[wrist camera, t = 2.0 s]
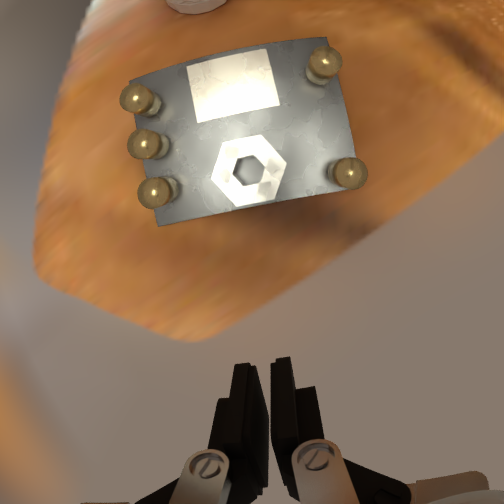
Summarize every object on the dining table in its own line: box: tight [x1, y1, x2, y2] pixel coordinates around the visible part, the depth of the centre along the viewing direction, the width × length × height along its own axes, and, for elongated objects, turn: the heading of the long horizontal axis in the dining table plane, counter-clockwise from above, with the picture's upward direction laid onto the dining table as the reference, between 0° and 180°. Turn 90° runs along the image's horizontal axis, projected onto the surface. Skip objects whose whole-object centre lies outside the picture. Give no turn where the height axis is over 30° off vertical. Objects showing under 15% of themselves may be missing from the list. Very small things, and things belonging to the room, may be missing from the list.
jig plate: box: [120, 37, 368, 227], centre depth 22 cm, size 14×18×4 cm
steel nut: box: [211, 135, 287, 207], centre depth 24 cm, size 5×6×2 cm
